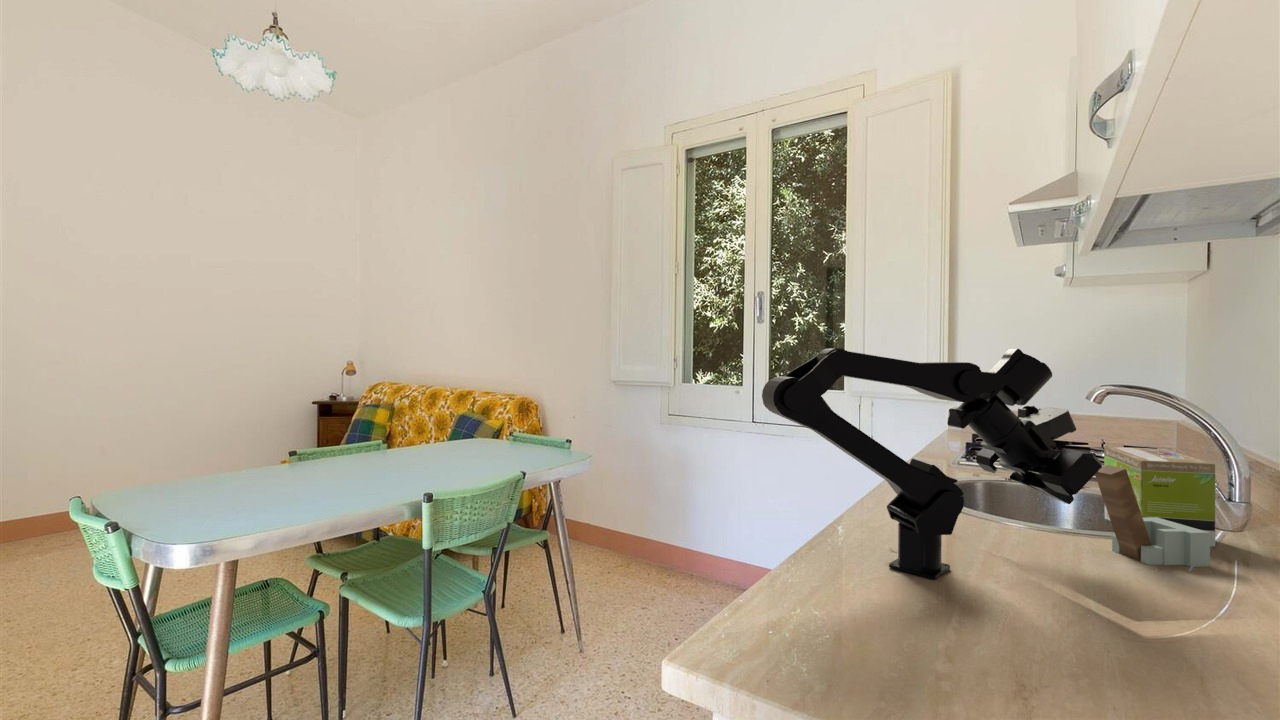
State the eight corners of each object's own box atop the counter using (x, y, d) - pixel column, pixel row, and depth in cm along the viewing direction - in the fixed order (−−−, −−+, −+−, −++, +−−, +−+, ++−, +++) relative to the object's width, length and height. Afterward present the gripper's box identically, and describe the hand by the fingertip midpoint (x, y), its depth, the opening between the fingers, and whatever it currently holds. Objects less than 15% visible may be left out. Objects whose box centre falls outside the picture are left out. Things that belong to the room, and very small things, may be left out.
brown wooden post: (1140, 563, 85) (1110, 474, 85) (1122, 556, 88) (1093, 470, 88) (1156, 557, 85) (1125, 468, 85) (1137, 550, 88) (1108, 465, 88)
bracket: (1145, 575, 82) (1145, 533, 82) (1097, 556, 90) (1097, 518, 90) (1214, 574, 83) (1214, 532, 83) (1160, 555, 91) (1160, 517, 91)
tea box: (1101, 523, 109) (1102, 445, 109) (1168, 528, 106) (1168, 448, 106) (1140, 548, 95) (1141, 458, 95) (1218, 555, 92) (1219, 461, 92)
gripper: (1088, 393, 76) (1167, 475, 77) (994, 386, 95) (1057, 452, 96) (1031, 453, 76) (1110, 535, 77) (947, 434, 95) (1011, 500, 95)
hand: (1070, 501), depth 86 cm, fingers closed
